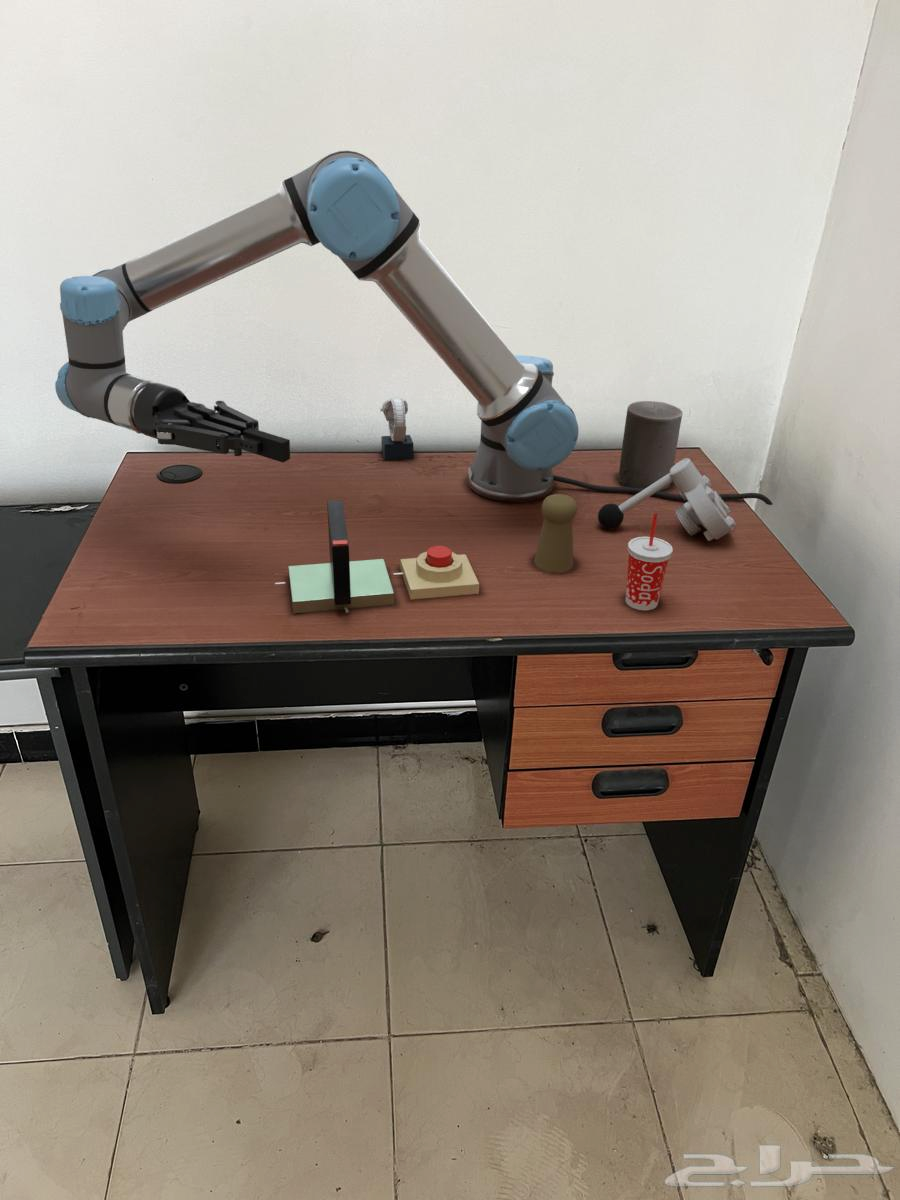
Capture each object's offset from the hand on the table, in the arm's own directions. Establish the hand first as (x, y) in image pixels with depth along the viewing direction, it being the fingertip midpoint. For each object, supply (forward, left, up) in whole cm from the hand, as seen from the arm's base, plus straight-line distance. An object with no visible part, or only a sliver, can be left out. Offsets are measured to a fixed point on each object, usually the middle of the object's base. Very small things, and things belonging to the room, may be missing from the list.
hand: (286, 451), depth 116 cm
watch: (-22, -48, -22) cm, 58 cm away
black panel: (-6, +1, -19) cm, 20 cm away
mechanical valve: (-60, -9, -22) cm, 65 cm away
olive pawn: (-39, -2, -22) cm, 45 cm away
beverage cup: (-48, +11, -22) cm, 54 cm away
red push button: (-21, 0, -18) cm, 28 cm away
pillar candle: (-65, -29, -22) cm, 75 cm away
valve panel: (-6, +1, -22) cm, 22 cm away
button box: (-21, 0, -22) cm, 30 cm away
